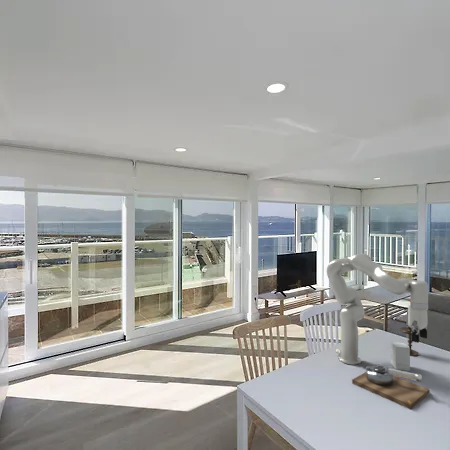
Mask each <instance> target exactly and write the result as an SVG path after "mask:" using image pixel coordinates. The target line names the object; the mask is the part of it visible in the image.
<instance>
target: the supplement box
mask: <svg viewBox="0 0 450 450" xmlns="http://www.w3.org/2000/svg"><path fill="white" fill-rule="evenodd" d="M391 365H392V366H393V369H395V370H400V371H406V372H409V371H410V370H411V356H410V348H409V346H408V344H406V343H405V342H393V341H392V342H391Z"/></svg>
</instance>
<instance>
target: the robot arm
mask: <svg viewBox="0 0 450 450" xmlns="http://www.w3.org/2000/svg"><path fill="white" fill-rule="evenodd" d="M356 270H357V271H359V272H361V273H363V274H365V275H366V276H368V277H370V278H371V279H372V280H374V282H376V283H377V284H378V285H379V286H380V287H382V288H383V289H385V290H386V291H388V292H390V293H392V294H394V295H397V296H401V295H404V294H408V293H410V298H409V302H410V301H411V312H410V328H411V333H412V335H411V340H412V341H413V342H414V343H420V338H422V339H428V323H429V322H428V320H429V319H428V310H429V283H428V282H426V281H425V280H414V279H410V278H407V277H404V278H403V277H401V278H398V279H397V278H396V277H393V276H391V275H390V274H388V273H387V272H386V271H384V269H383V266H382V265H381V264H380V263H377V262H375V261H373V260H372V259H371V256H369V254H366V253H357V254H356V253H355V254H354V255H352V256H347V257H344V258H335V259H333V260H332V261H330V262H329V264H328V265H327V267H326V275H327V279H328V280H329V283H330V286H331V289H332V291H333V295H334V298H335V301H336V302H337V303H338V304H339V305H346V306H344V307H342V309H341V310H340V312H339V321H340V322H339V323H340V348H338V347H336V349H335V353H336V354H338V356H337V357H338V358H337V359H338V361H340V362H341V363H344V364H346V365H350V366H351V365H352V366H353V365H354V366H356V365H360V364H361V363H362V359H361V358H360V357H359V327H358V321H360V320H362V319H364V317H365V315H366V312H365V309H364V306H363V303H362V300H361V297H360V295H359V292H358V291H357V290H356V289H355V287H354V288H353V287H351V286H348V285H347V283H346V280H345V278H344V277H343V276H342V273H343V274H344V273H347V272H352V271H356ZM416 330H417V332H416ZM419 331H420V334H418V333H419ZM413 342H412V343H413Z"/></svg>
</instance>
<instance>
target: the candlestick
mask: <svg viewBox="0 0 450 450" xmlns="http://www.w3.org/2000/svg"><path fill="white" fill-rule="evenodd" d="M407 306H408V307H407V310H408V312H407V314H408V317H407V318H408V320H407V321H408V323H407V324H406V327H403V326H402V327H400V328H399V331H400V332H401V333H403V334H407V335H408V339H407V343H408V344H407V346H408V347H409V348H410V357H418V356H419V352H418V351H416V350H415V349H412V347H413V341H412V333H411V328H410V312H411V301H410V300H409V304H408V305H407ZM416 332H417V330H416ZM418 334H419V335H420V330H419V333H418Z"/></svg>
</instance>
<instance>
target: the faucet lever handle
mask: <svg viewBox="0 0 450 450" xmlns="http://www.w3.org/2000/svg"><path fill="white" fill-rule="evenodd" d="M365 368H366V369H365V370H366V371H365V372H366V378H367V380H369V381H370V382H372V383H374V384H377V385H381V386H390V385H392V384H393V376H396V377H398V378H401V379H405V380H412V381H416V382H420V383H421V382H422V378H423V377H422V374H420V373H413V372H409V371H406V370H397V369H395V368H390V367H389V368H386V367H384V365H382V364H377V365H376V366H375V365H374V366H373V365H371V366H370V365H369V366H366V367H365Z"/></svg>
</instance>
